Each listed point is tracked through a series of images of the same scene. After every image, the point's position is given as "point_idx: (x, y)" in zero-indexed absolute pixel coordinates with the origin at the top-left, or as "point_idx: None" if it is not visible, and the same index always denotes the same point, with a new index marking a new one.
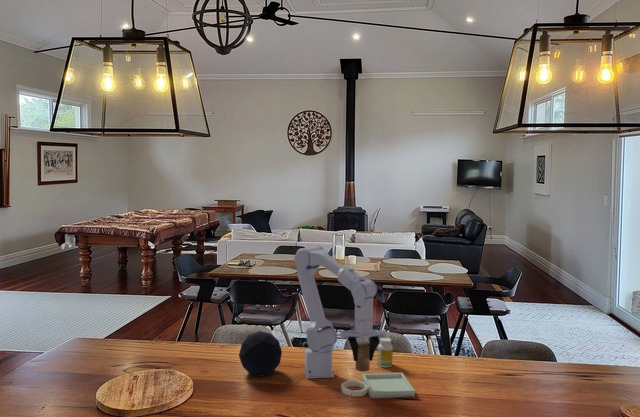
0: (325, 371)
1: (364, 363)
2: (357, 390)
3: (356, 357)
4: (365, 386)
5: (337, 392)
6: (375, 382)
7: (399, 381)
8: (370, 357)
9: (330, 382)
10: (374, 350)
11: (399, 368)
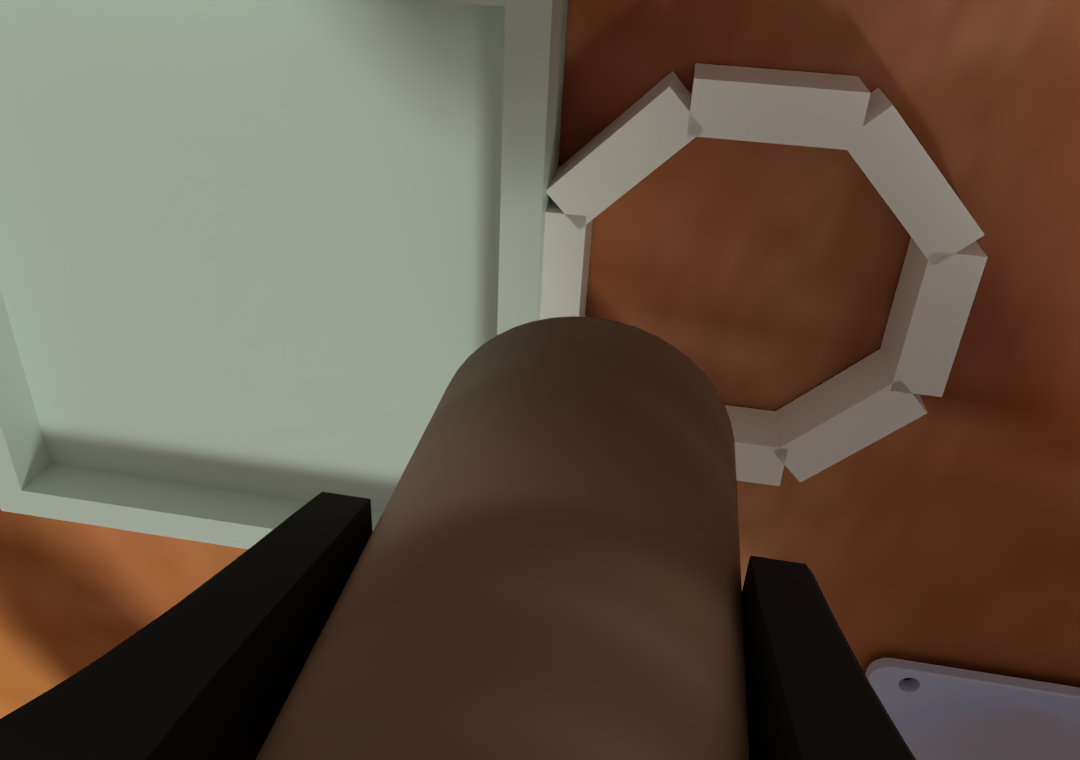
0: (1010, 752)
1: (557, 416)
2: (758, 131)
3: (778, 623)
4: (574, 252)
5: (1035, 263)
6: (386, 395)
7: (69, 359)
8: (327, 547)
9: (981, 562)
10: (67, 684)
11: (71, 667)
